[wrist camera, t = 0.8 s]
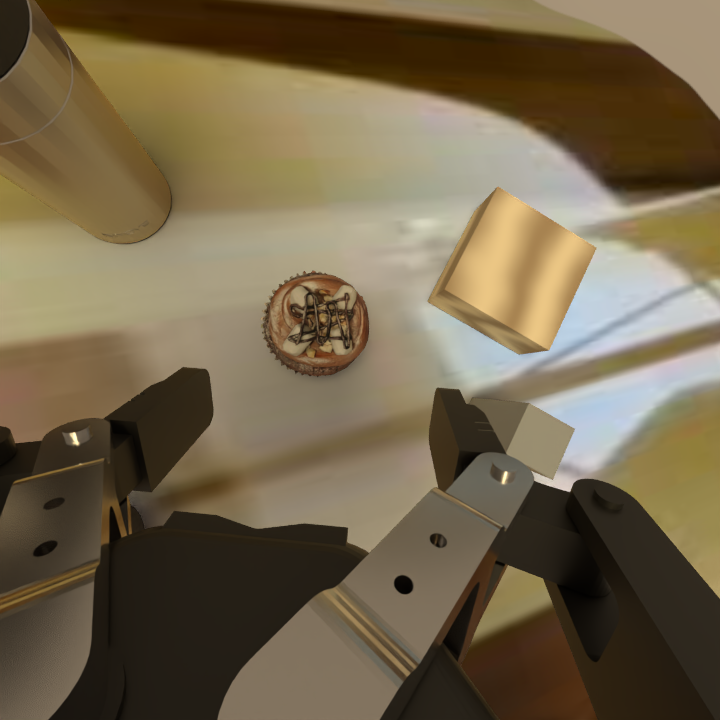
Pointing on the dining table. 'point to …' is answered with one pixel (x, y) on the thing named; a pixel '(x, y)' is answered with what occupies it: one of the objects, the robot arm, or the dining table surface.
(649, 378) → the dining table surface
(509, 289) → the birch plinth
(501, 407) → the grey block
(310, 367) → the cupcake
